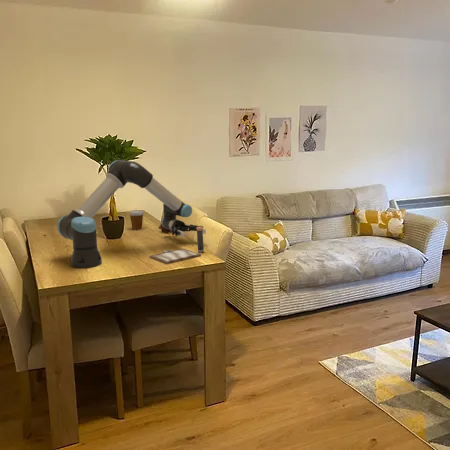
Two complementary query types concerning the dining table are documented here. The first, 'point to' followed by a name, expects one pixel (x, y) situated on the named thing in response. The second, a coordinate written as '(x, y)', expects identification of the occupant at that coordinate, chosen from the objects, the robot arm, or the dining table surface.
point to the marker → (200, 239)
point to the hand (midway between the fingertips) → (194, 233)
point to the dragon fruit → (163, 228)
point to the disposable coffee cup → (136, 219)
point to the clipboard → (174, 256)
